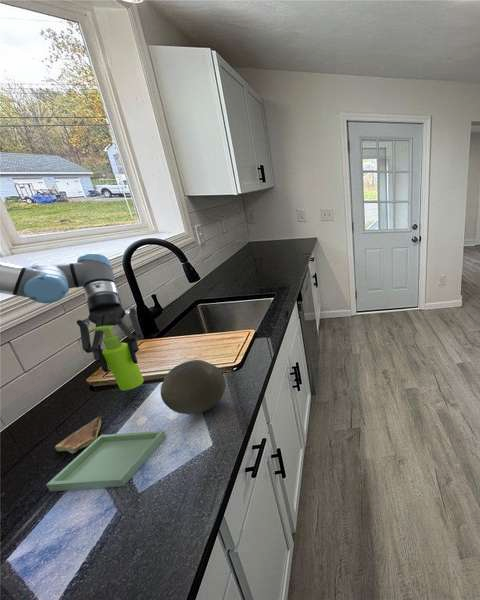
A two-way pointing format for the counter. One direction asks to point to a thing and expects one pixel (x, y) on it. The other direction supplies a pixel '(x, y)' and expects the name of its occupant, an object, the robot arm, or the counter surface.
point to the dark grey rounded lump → (193, 387)
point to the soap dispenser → (120, 360)
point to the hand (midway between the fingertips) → (120, 366)
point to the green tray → (108, 461)
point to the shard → (81, 437)
